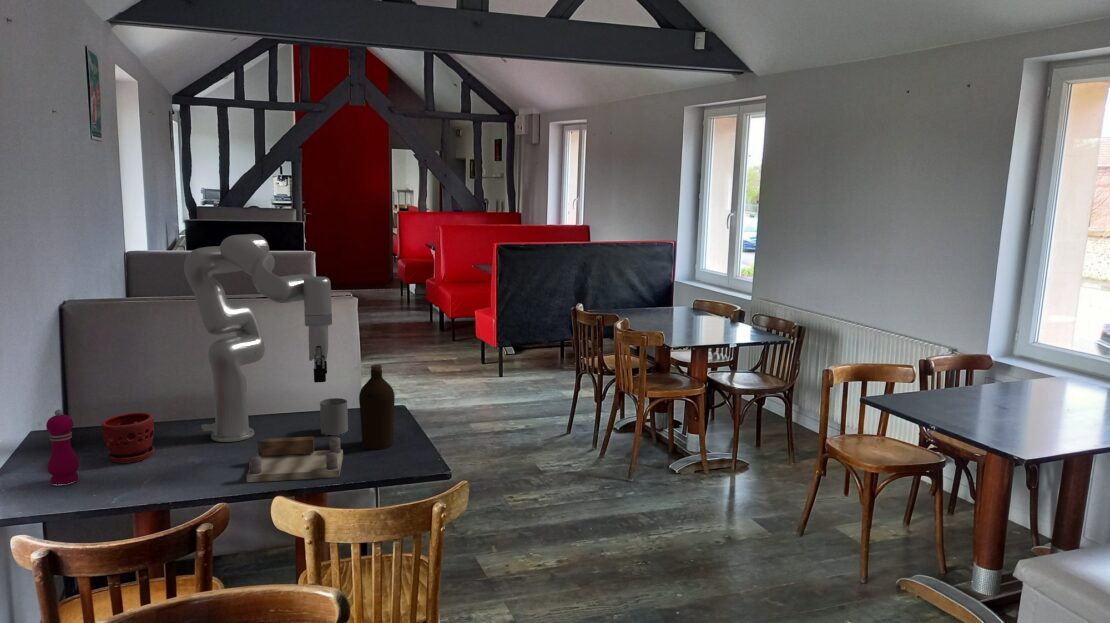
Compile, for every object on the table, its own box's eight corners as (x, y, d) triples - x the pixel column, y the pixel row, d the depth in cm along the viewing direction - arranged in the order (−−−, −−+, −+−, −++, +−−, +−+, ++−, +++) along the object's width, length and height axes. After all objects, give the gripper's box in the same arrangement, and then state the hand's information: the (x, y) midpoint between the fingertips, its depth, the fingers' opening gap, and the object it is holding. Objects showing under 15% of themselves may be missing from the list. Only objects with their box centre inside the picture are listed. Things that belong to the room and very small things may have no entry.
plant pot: (141, 447, 236) (138, 409, 234) (164, 456, 228) (162, 417, 226) (95, 459, 225) (92, 419, 223) (118, 469, 218) (115, 428, 216)
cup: (319, 429, 255) (318, 399, 254) (345, 426, 259) (344, 397, 257) (323, 437, 248) (322, 406, 246) (349, 433, 251) (349, 403, 250)
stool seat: (246, 482, 210) (245, 461, 209) (257, 460, 226) (256, 440, 225) (339, 477, 215) (338, 456, 214) (343, 455, 231) (342, 436, 230)
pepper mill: (46, 489, 203) (39, 414, 200) (51, 479, 210) (44, 407, 207) (78, 485, 206) (72, 411, 203) (82, 475, 213) (76, 404, 209)
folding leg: (257, 455, 222) (256, 442, 222) (259, 452, 225) (258, 439, 225) (313, 453, 226) (312, 439, 225) (314, 449, 229) (313, 436, 228)
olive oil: (397, 448, 238) (396, 368, 234) (361, 451, 235) (359, 370, 231) (393, 437, 248) (391, 360, 244) (358, 440, 245) (356, 362, 241)
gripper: (306, 315, 232) (308, 371, 234) (302, 325, 215) (305, 386, 218) (332, 314, 234) (334, 370, 236) (331, 324, 217) (333, 384, 220)
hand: (320, 377), depth 227 cm, fingers open, 9 cm apart
